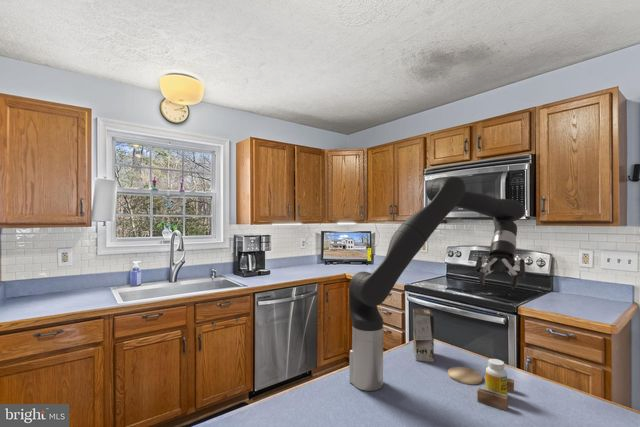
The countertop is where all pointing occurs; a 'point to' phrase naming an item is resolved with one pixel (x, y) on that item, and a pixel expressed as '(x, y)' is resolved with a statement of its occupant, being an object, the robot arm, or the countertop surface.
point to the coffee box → (423, 334)
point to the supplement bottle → (496, 376)
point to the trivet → (465, 375)
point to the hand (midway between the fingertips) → (496, 285)
